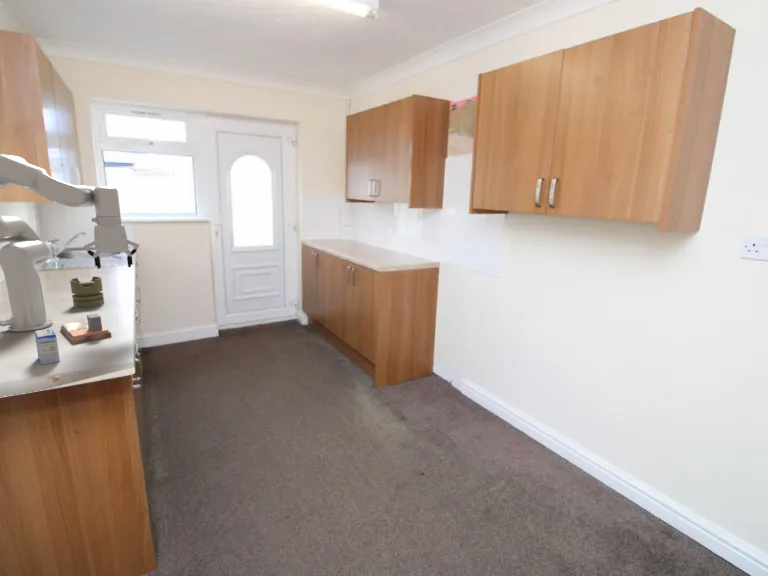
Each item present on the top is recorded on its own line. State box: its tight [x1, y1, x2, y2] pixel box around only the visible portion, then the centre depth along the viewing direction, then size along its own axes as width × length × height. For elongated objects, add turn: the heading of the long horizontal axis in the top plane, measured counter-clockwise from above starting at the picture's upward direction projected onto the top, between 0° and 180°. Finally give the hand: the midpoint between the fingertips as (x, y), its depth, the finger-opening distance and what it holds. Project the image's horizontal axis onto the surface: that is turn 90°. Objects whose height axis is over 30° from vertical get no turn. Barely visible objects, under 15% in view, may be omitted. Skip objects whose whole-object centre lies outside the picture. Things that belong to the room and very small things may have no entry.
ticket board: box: [60, 319, 112, 345], centre depth 149 cm, size 11×20×2 cm, turn 47°
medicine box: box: [34, 328, 61, 366], centre depth 124 cm, size 8×4×9 cm, turn 45°
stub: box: [69, 313, 109, 338], centre depth 144 cm, size 10×7×6 cm
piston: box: [69, 276, 105, 309], centre depth 185 cm, size 11×12×11 cm
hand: (114, 267), depth 155 cm, fingers open, 9 cm apart
